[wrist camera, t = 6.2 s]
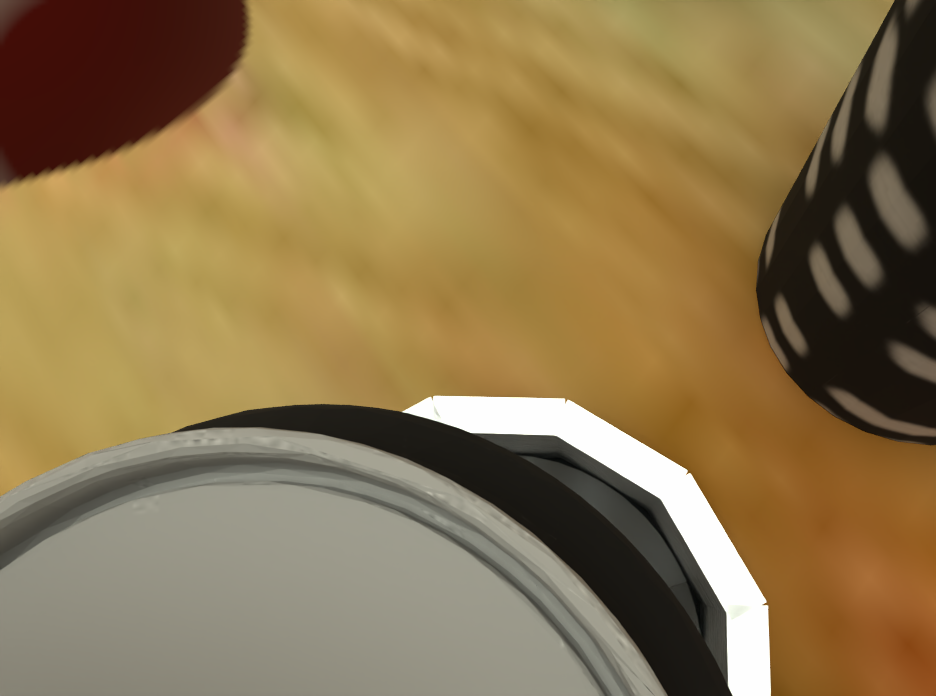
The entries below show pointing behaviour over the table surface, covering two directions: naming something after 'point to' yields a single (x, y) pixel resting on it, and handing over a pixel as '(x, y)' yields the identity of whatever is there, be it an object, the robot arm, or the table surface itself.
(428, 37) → the table surface
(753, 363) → the table surface
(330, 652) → the beverage can
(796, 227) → the white-spotted black cylinder
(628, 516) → the can holder
